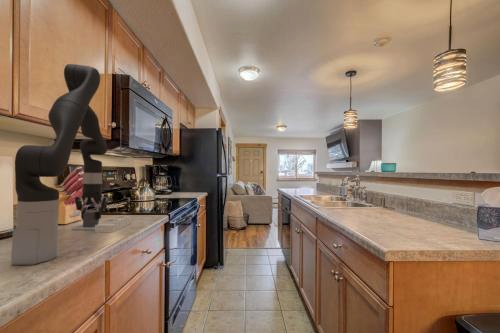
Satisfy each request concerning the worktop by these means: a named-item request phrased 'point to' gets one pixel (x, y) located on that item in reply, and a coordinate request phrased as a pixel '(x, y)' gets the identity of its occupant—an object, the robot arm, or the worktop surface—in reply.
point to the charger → (90, 218)
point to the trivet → (84, 228)
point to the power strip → (112, 224)
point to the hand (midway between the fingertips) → (91, 219)
